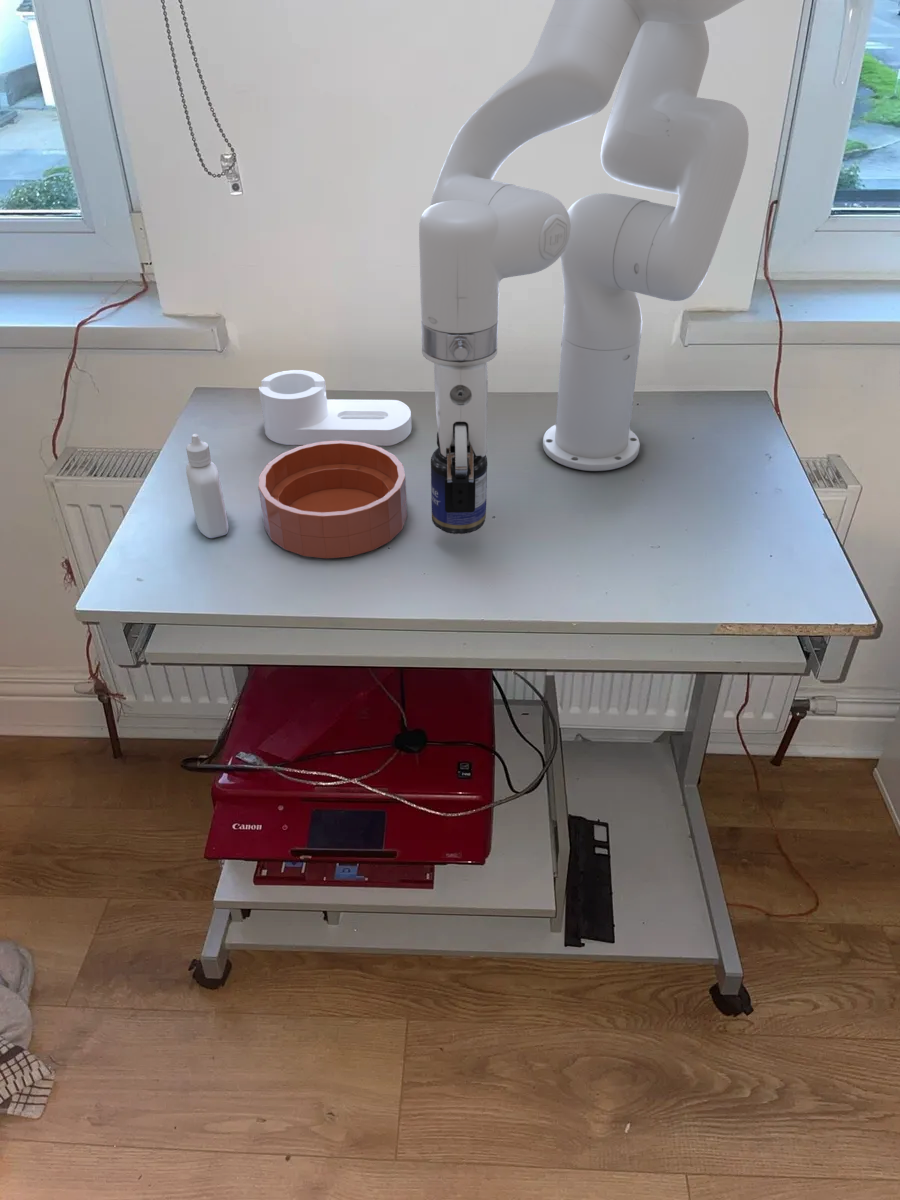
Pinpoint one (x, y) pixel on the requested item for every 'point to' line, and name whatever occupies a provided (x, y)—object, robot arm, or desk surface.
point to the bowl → (333, 498)
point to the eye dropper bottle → (205, 490)
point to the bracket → (327, 413)
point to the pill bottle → (440, 517)
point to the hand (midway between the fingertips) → (459, 492)
